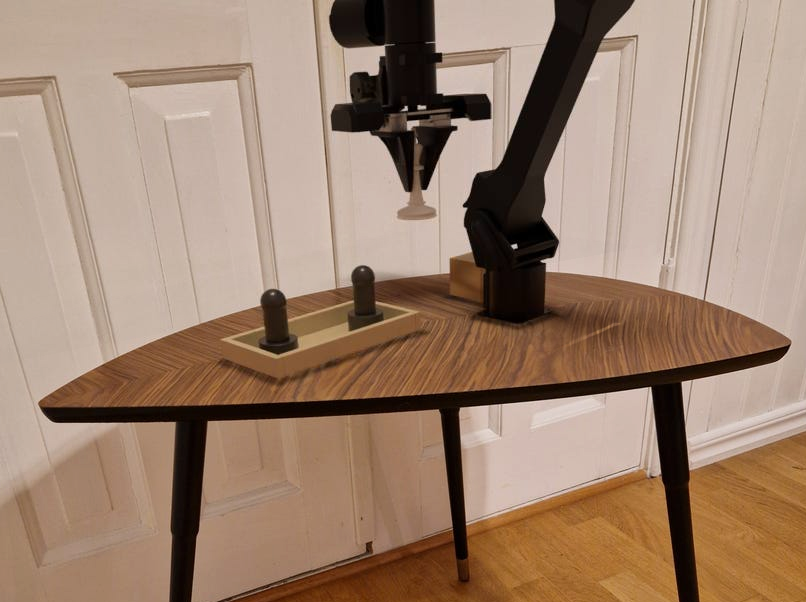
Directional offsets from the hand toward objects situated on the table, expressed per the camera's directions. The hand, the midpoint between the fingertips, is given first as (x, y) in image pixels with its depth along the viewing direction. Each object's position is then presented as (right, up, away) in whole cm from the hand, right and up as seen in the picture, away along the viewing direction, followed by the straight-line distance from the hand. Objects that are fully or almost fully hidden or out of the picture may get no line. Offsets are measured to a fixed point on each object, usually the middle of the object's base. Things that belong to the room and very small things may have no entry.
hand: (416, 191), depth 97 cm
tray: (-10, -21, -11) cm, 25 cm away
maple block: (+8, -12, +5) cm, 15 cm away
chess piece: (0, -3, +2) cm, 3 cm away
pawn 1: (-14, -22, -14) cm, 30 cm away
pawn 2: (-6, -18, -7) cm, 20 cm away
